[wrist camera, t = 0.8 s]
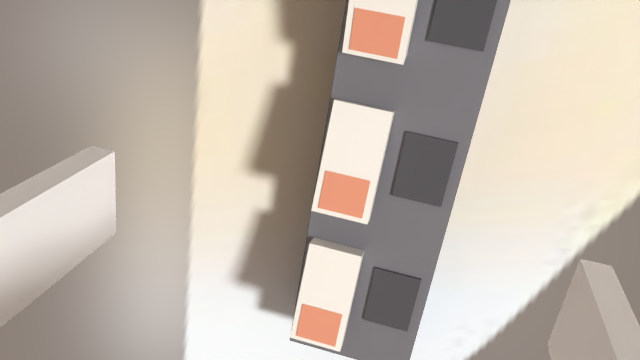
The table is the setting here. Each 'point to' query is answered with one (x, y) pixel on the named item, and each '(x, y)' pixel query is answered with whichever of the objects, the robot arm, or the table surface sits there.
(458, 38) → the strip
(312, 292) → the block
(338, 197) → the block
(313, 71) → the table surface
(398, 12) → the block
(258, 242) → the table surface
